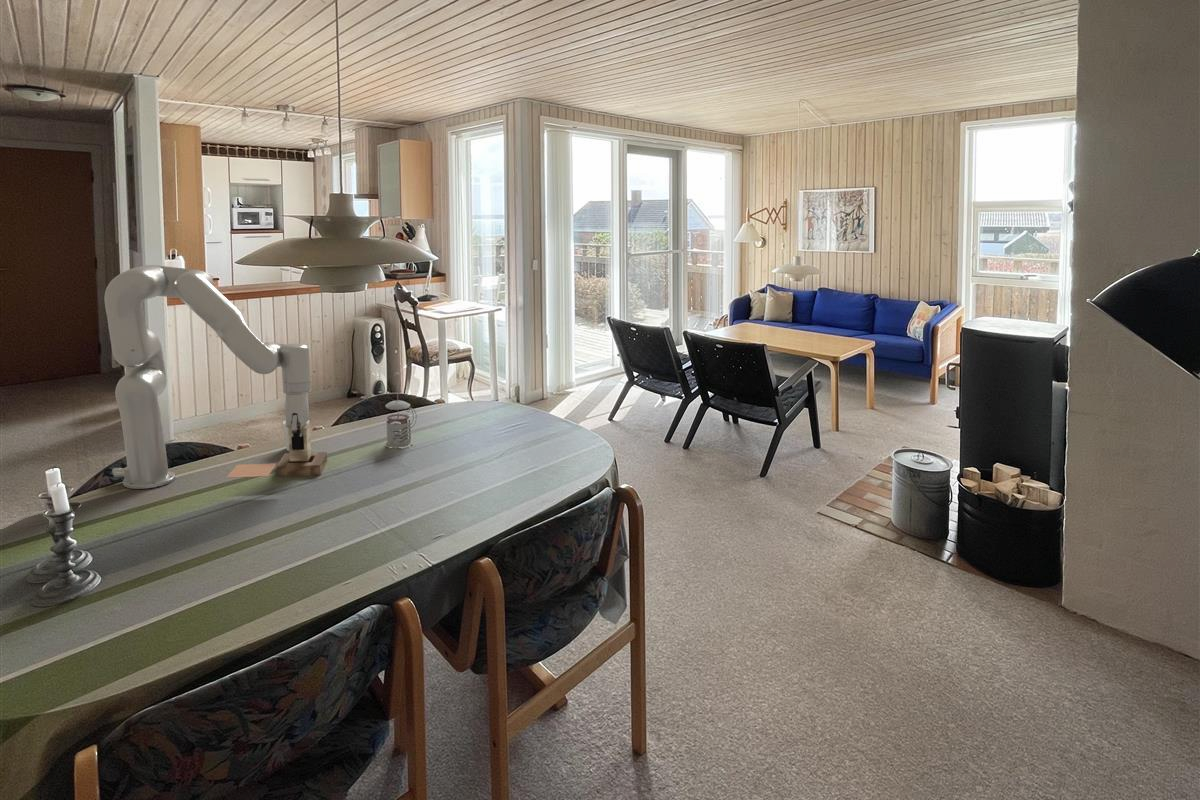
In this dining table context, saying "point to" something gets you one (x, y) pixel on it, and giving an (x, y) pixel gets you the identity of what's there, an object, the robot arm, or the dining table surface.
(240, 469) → the terracotta tile
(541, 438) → the dining table surface
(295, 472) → the walnut holder
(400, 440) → the french press
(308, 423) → the white cup
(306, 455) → the birch peg
